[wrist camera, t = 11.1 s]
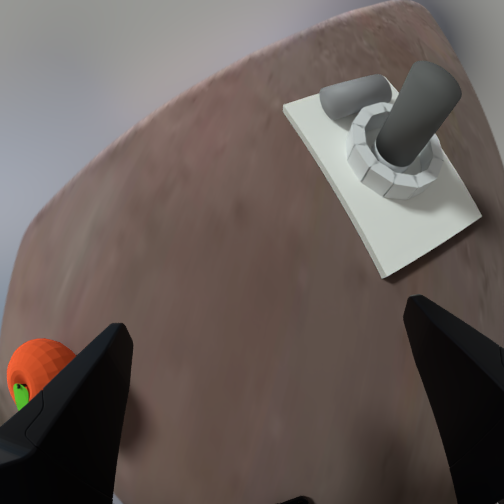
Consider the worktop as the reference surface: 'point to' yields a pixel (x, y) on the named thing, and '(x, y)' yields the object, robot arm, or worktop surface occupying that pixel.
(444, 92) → the crank handle
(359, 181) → the white socket base plate
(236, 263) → the worktop surface
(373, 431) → the worktop surface
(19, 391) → the clementine
